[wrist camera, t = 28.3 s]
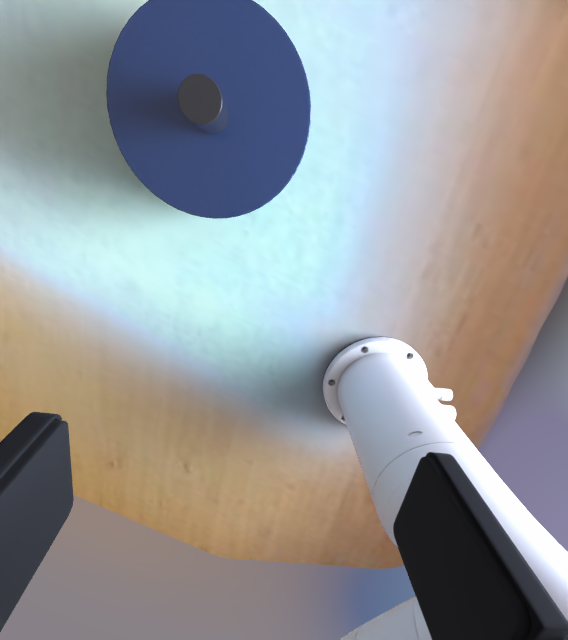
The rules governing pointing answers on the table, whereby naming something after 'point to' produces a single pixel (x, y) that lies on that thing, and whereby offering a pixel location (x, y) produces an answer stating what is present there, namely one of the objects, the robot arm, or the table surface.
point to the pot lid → (209, 104)
